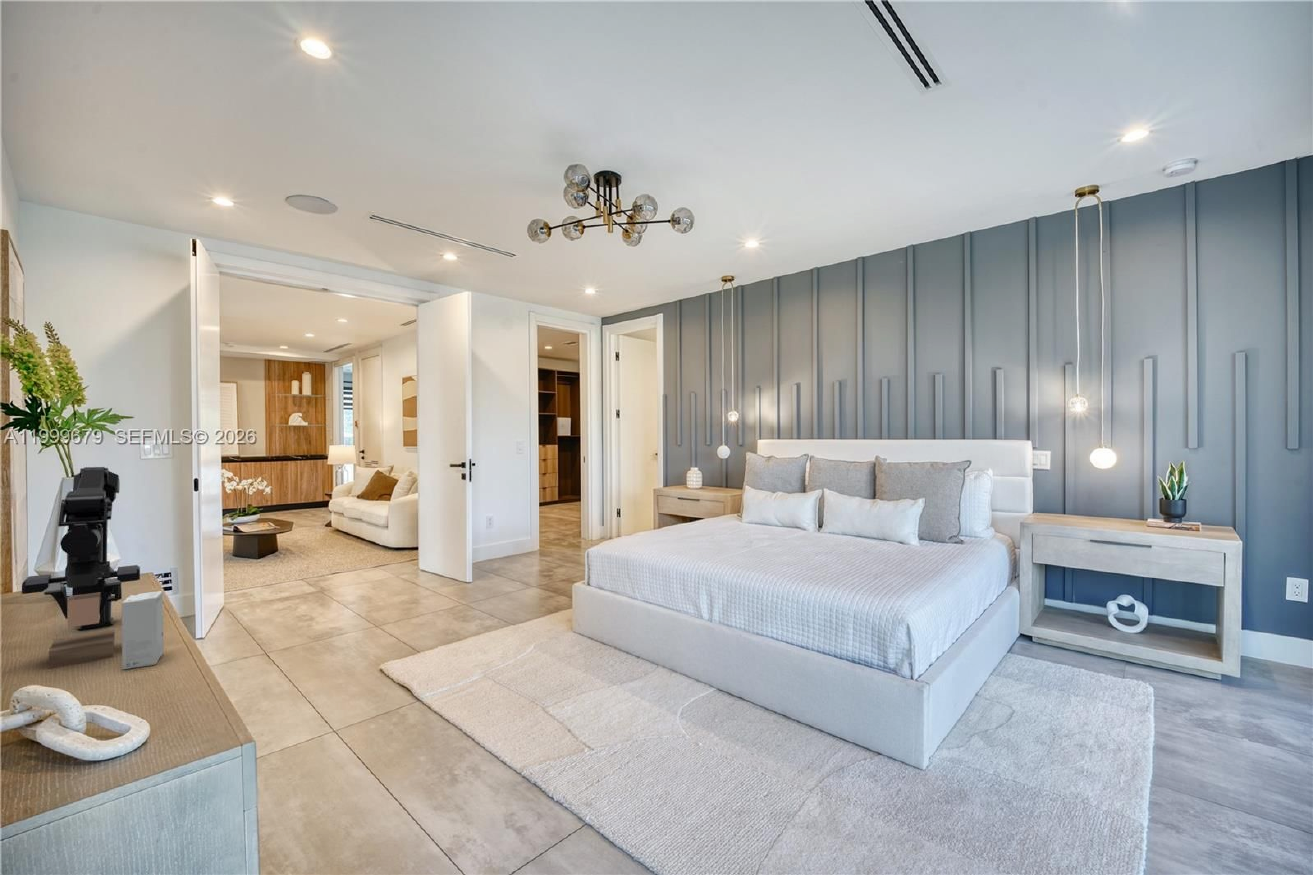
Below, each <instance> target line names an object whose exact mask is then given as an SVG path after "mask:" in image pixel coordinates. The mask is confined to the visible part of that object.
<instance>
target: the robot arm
mask: <svg viewBox="0 0 1313 875" xmlns="http://www.w3.org/2000/svg"><path fill="white" fill-rule="evenodd" d="M120 483H121V482H120V475H119V474H117V473H114V472H113V471H110V470H109V468H108V467H105V466H93V467H91V466H88V467H83V468H80V469H79V472H78V473H76V474H75V475H73V481H72V491H68V492H67V494H66V496H65V498H64V499H61V501H60V508H59V518H58V524H57V526H58V527H59V528H60V527H68V528H67V531H66V533H65V534H64V535H63V536H62V538H61V540H60V548H61V550H62V551H63V552H64V553H66V567H65V569H64V576H60V577H59V576H58V577H52V574H51V573H48V574H40V575H33V576H32V575H31V576H29V575H28V577H26V578H25V579H24V580H23V582H22V583H21V594H22V595H29V594H35V593H43V595H44V596H48V595H49V596H51V598H53V599H55V601H56V603H57V604H58V607H59V608H60V610H61V613H62V614H63V616H64V618H65V620H67V608H68V595H67V594H68V593H67V589H68V588H69V589H71V590H72V591H71V593H72V595H71V596H75V595H83V594H91V593H98V592H100V607H99V614H100V620H99V623H96V624H89V625H83V626H77V631H83V630H90V629H97V628H103V627H109V626H114V617H112V602H118V601H120V600H122V599H123V598H122V597H123V596H122V595H123V594H122V583H126V582H137V581H140V580H141V566H139V565H137V564H136V565H124V566H118V567H117V570H115V569H113V567H112V566H111V562H110V560H108V529H109V528H108V524H109V523H108V522H109V521H108V520H112V516H113V515H112V513H113V512H112V511H113V503H114V502H115V500H116V499H117V494H119V493H120V487H121V486H120Z"/></svg>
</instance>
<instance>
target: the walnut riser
mask: <svg viewBox="0 0 1313 875" xmlns="http://www.w3.org/2000/svg"><path fill="white" fill-rule="evenodd" d="M115 633H116V630H115V629H112V630H105V631H100V632H92V633H87V634H82V635H80V634H79V635H75V636H68V637H62V638H61V637H60V638H55V639H53V641H52V644H51V645H50V648H49V651H48V669H54V668H59V667H65V666H71V665H77V664H83V663H88V662H93V661H94V662H95V661H98V660H103V659H108V658H109V659H111V658H114V650H115V642H116V641H115V640H116V639H115V636H116V635H115Z"/></svg>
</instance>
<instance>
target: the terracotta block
mask: <svg viewBox="0 0 1313 875" xmlns="http://www.w3.org/2000/svg"><path fill="white" fill-rule="evenodd" d="M67 600H68V608H67V619H66V621H67V622H66V625H67V629H69V628H74V627H75V628H76V627H78V626H83V625H89V624H96V623H99V620H100V614H99V607H100V592H98V593H91V594H83V595H75V596H72V595H70V596H69V597H68V598H67Z"/></svg>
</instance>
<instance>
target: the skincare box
mask: <svg viewBox="0 0 1313 875" xmlns="http://www.w3.org/2000/svg"><path fill="white" fill-rule="evenodd" d="M163 595H164V594H163V590H158V591H151V592H143V593H136V594H130V595H129V596H128V597H126V598H125V599H124V601H122V603H121V653H122V654H121V658H122V660H121V664H122V666H121V668H122V670H127V669H128V670H129V669H133V668H134V669H135V668H140V667H141V668H143V667H149V666H155V665H157V664H158V662H159V659H160V657H161V658H162V655H163V654H164V609H163V600H164V599H163V597H164V596H163Z"/></svg>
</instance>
